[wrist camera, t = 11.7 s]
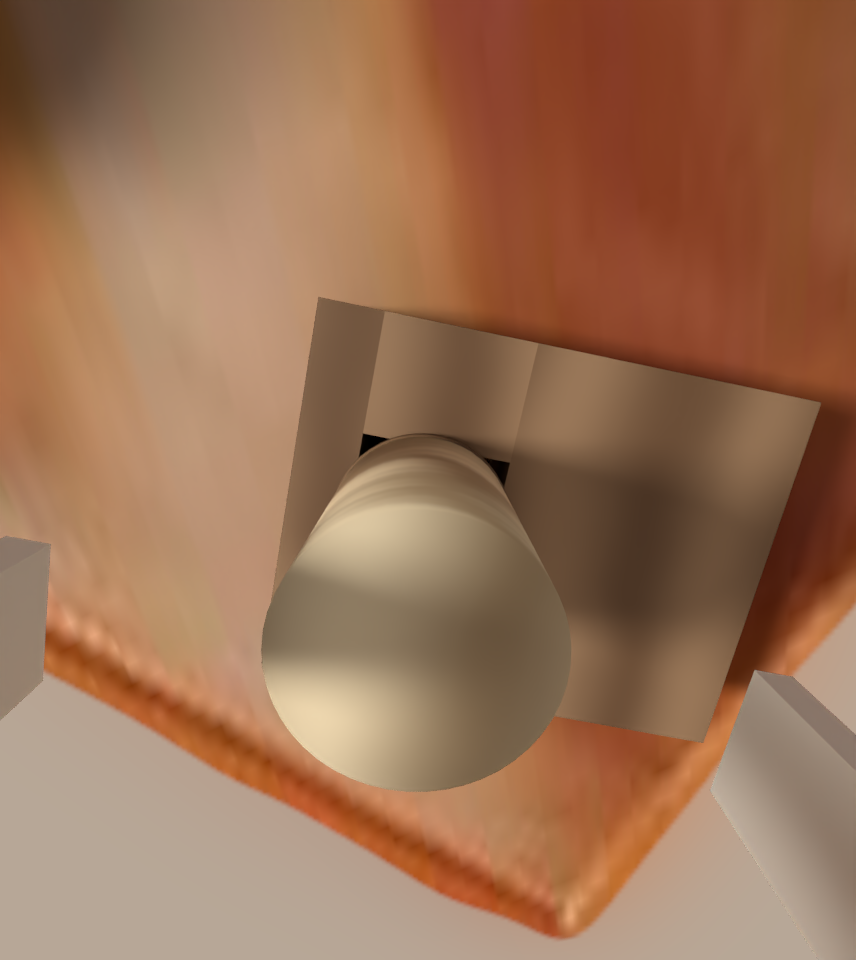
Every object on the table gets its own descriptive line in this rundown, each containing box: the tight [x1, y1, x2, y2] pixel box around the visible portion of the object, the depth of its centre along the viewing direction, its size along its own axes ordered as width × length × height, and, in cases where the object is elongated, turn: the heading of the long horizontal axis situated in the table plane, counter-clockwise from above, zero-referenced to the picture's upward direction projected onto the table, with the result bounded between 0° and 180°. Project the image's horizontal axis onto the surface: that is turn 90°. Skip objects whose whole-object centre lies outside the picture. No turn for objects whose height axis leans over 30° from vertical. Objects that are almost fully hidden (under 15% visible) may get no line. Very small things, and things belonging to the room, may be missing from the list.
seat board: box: [271, 297, 821, 743], centre depth 25 cm, size 18×14×5 cm
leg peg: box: [261, 433, 571, 792], centre depth 19 cm, size 6×6×14 cm
